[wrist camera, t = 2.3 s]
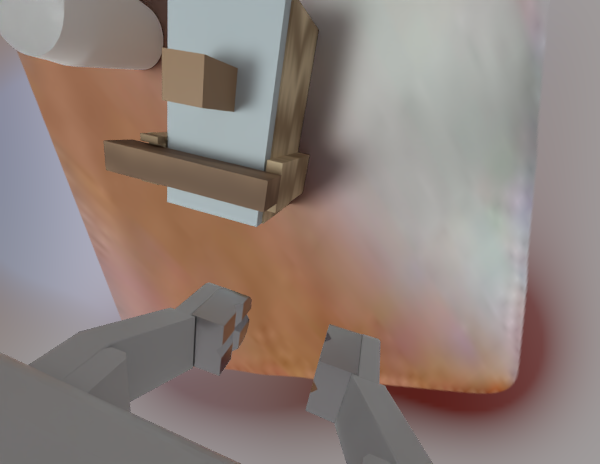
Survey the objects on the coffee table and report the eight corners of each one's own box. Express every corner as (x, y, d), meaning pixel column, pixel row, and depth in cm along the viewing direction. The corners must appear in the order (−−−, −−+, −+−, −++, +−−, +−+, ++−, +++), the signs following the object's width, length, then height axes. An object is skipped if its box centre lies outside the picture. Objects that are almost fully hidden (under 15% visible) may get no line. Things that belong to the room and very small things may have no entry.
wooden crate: (211, 16, 30) (134, -35, 21) (332, 31, 28) (305, -19, 18) (203, 182, 37) (142, 199, 28) (300, 207, 34) (268, 234, 25)
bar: (132, 139, 27) (103, 140, 24) (281, 175, 24) (267, 180, 21) (133, 166, 28) (105, 169, 25) (277, 203, 25) (263, 212, 22)
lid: (178, -18, 23) (116, -62, 17) (292, -6, 21) (261, -51, 16) (175, 199, 29) (130, 213, 24) (261, 223, 27) (232, 244, 22)
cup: (175, 83, 34) (75, 61, 23) (114, 79, 36) (-5, 56, 25) (170, -11, 31) (51, -89, 20) (102, -10, 33) (-40, -81, 22)
